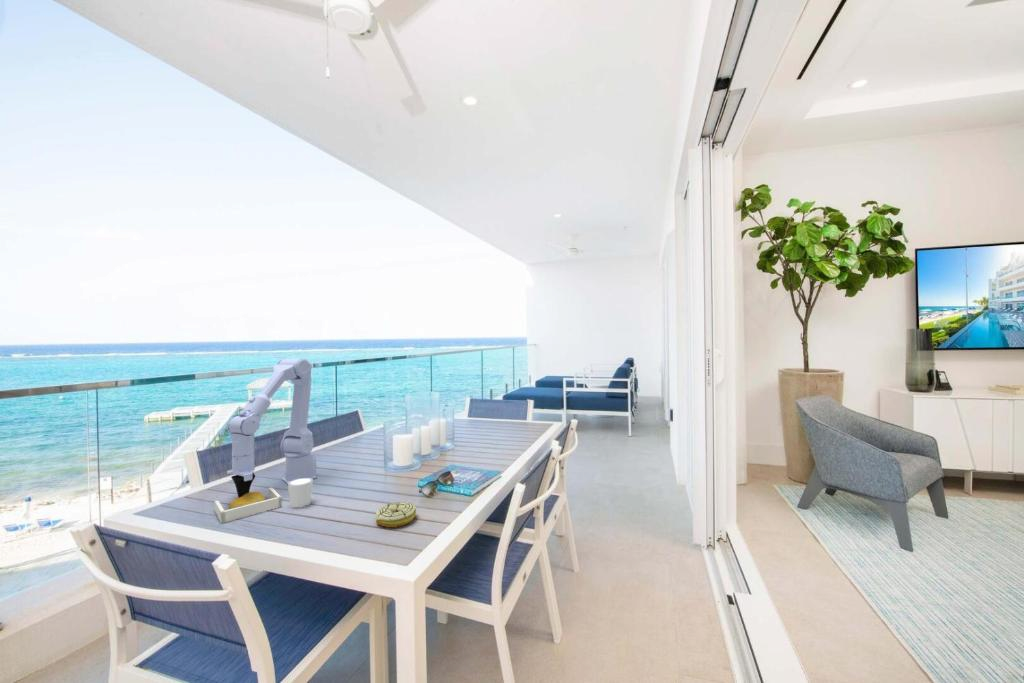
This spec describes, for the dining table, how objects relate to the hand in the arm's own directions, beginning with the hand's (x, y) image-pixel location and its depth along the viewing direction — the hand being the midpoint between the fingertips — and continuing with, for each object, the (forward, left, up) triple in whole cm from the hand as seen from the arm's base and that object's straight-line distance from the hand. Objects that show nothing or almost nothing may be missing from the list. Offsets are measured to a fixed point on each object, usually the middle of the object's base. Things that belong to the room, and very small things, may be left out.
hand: (243, 498), depth 118 cm
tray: (0, +7, -1) cm, 7 cm away
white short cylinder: (-12, +14, -1) cm, 19 cm away
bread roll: (0, +5, -2) cm, 5 cm away
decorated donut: (-27, +45, -2) cm, 53 cm away
